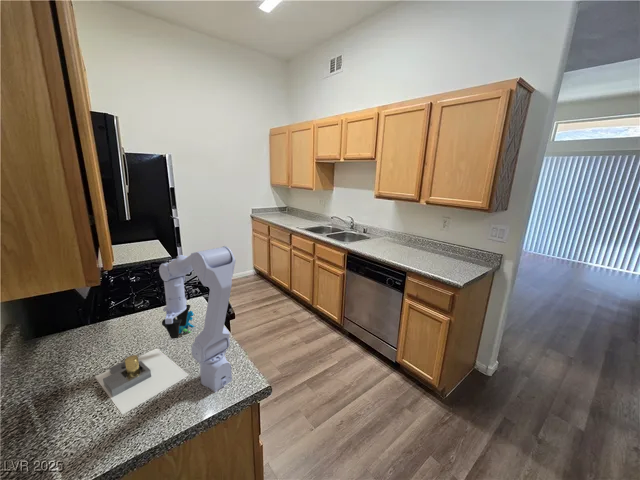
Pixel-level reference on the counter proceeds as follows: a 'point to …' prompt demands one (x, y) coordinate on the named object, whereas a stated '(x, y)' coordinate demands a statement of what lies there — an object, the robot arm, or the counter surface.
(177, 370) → the mat
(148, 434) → the counter surface
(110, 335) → the counter surface
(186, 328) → the gear
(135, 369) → the pin
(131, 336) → the counter surface
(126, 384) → the plate
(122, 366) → the plate
